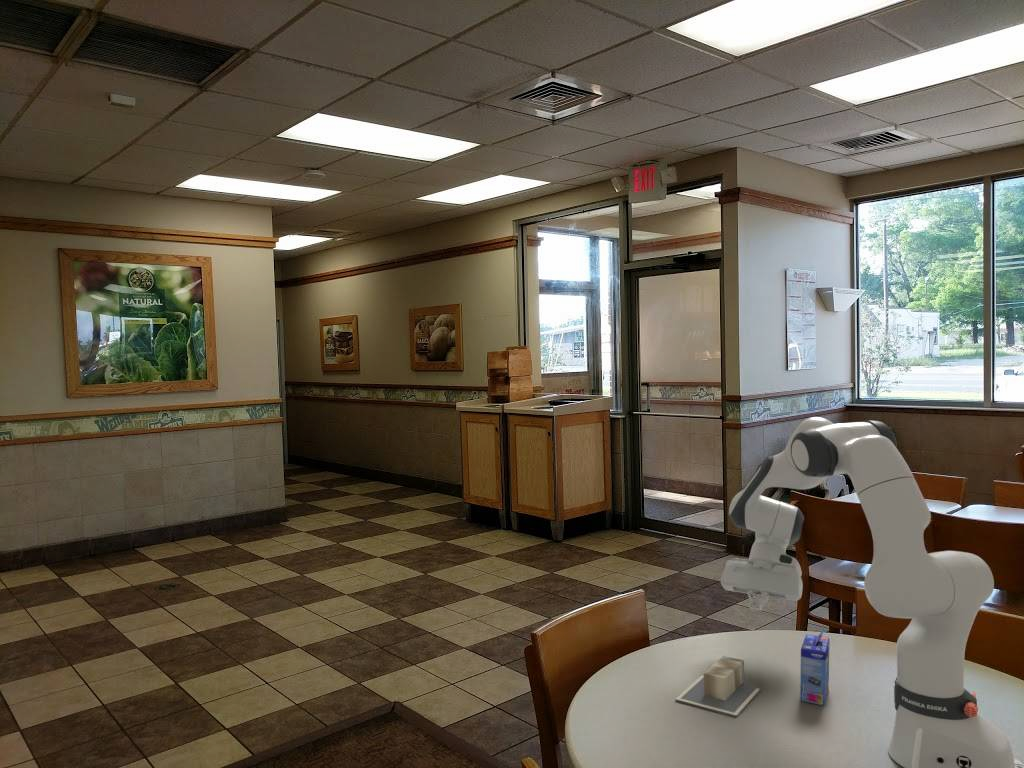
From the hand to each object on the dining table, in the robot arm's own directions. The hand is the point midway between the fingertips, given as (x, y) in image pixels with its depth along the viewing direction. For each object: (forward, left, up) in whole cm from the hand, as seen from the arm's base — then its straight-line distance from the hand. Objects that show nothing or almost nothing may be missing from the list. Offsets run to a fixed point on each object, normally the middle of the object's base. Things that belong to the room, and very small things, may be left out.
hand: (754, 608), depth 190 cm
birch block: (0, +15, -10) cm, 18 cm away
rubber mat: (0, +25, -13) cm, 28 cm away
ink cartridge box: (-18, +13, -13) cm, 26 cm away
